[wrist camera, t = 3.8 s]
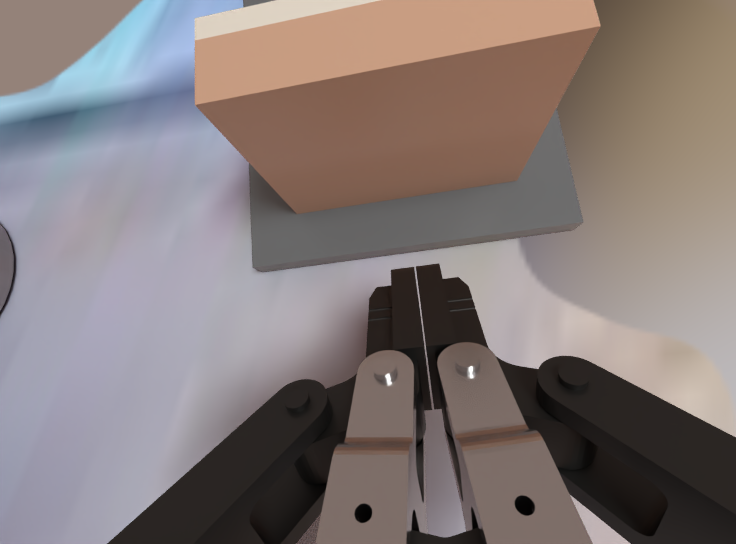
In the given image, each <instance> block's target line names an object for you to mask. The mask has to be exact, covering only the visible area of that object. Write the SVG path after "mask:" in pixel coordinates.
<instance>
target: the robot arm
mask: <svg viewBox="0 0 736 544" xmlns="http://www.w3.org/2000/svg"><path fill="white" fill-rule="evenodd" d="M416 271H417V279H418V286H419V294H420V302H421V310H422V318H423V326H424V334H425V342H426V350H427V357H428V365H429V372H430V380H431V388H432V395H433V403H434V409H442V413H443V420H444V428H445V436H446V441H447V445H448V450H449V454H450V458H451V463H452V467H453V471H454V476H455V480H456V484H457V489H458V493H459V497H460V502H461V506H462V511H463V516H464V521H465V528H466V532H463V533H461V534H458V535H455V536H452V537H448V538H443V537H438V536H434V535H430V534H428V528H427V516H426V461H425V430H426V423H425V413H424V410H432V407H431V399H430V390H429V382H428V374H427V366H426V357H425V349H424V341H423V332H422V324H421V316H420V308H419V301H418V293H417V286H416V278H415V271H414V267H409V268H401V269H394V270H391V286H384V287H377V288H376V289H375V291H374V292H373V294H372V295H371V297H370V298H369V315H368V332H367V349H366V359H364V360H363V361H362V363H361V364H360V366H359V368H358V371H357V374H356V375H355V376H354V377H352V378H351V379H349V380H347V381H345V382H343V383H341V384H338V385H335V386H333V387H330V388H327V389H325V387H324V386H323V385H322V384H321V383H319V382H317V381H315V380H309V379H304V380H298V381H295V382H292V383H290V384H288V385H286V386H285V387H283V388H282V389H281V390H279V391H278V392H277V393H276V394H275V395H274V396H273V397H272V398H270V399H269V400H268V401H267V402H266V403H265V404H264V405H263V406H261V407H260V408H259V409H258V410H257V411H256V412H255V413H254V414H252V415H251V416H250V417H249V418H248V419H247V420H246V421H245V422H243V423H242V424H241V425H240V426H239V427H238V428H237V429H236V430H234V431H233V432H232V433H231V434H230V435H229V436H228V437H227V438H226V439H224V440H223V441H222V442H221V443H220V444H219V445H218V446H217V447H215V448H214V449H213V450H212V451H211V452H210V453H209V454H208V455H206V456H205V457H204V458H203V459H202V460H201V461H200V462H199V463H197V464H196V465H195V466H194V467H193V468H192V469H191V470H190V471H188V472H187V473H186V474H185V475H184V476H183V477H182V478H181V479H179V480H178V481H177V482H176V483H175V484H174V485H173V486H172V487H170V488H169V489H168V490H167V491H166V492H165V493H164V494H163V495H161V496H160V497H159V498H158V499H157V500H156V501H155V502H154V503H152V504H151V505H150V506H149V507H148V508H147V509H146V510H145V511H143V512H142V513H141V514H140V515H139V516H138V517H137V518H136V519H134V520H133V521H132V522H131V523H130V524H129V525H128V526H127V527H125V528H124V529H123V530H122V531H121V532H120V533H119V534H118V535H116V536H115V537H114V538H113V539H112V540H111V541H110V542H109V543H107V544H296V543H297V542H298V540H299V539H300V538H301V537H302V536H303V534H304V533H305V532H306V531H307V529H308V528H309V527H310V526H311V524H312V523H313V522H314V521H315V519H316V518H317V517H318V516H319V515H320V513H321V517H320V522H319V527H318V532H317V537H316V542H315V544H593V543H592V541H591V539H590V537H589V535H588V533H587V531H586V528H585V526H584V524H583V522H582V520H581V518H580V516H579V514H578V512H577V509H576V507H575V505H574V503H573V501H572V499H571V497H570V495H571V496H573V497H574V498H575V499H576V500H577V501H579V502H580V503H581V504H582V505H584V506H585V507H586V508H587V509H589V510H590V511H591V512H592V513H594V514H595V515H596V516H597V517H599V518H600V519H601V520H602V521H604V522H605V523H606V524H607V525H608V526H610V527H611V528H612V529H613V530H615V531H616V532H617V533H618V534H620V535H621V536H622V537H623V538H625V539H626V540H627V541H628V542H630V543H631V544H736V437H734V436H732V435H730V434H728V433H726V432H724V431H722V430H720V429H718V428H716V427H714V426H712V425H711V424H709V423H707V422H705V421H703V420H701V419H699V418H697V417H695V416H693V415H691V414H689V413H687V412H686V411H684V410H682V409H680V408H678V407H676V406H674V405H672V404H670V403H668V402H666V401H664V400H662V399H661V398H659V397H657V396H655V395H653V394H651V393H649V392H647V391H645V390H643V389H641V388H639V387H637V386H636V385H634V384H632V383H630V382H628V381H626V380H624V379H622V378H620V377H618V376H616V375H614V374H612V373H610V372H609V371H607V370H605V369H603V368H601V367H599V366H597V365H595V364H593V363H591V362H589V361H587V360H584V359H581V358H578V357H573V356H558V357H553V358H550V359H548V360H546V361H545V362H543V363H542V364H541V365H540V367H539V369H534V368H527V367H521V366H516V365H512V364H509V363H507V362H504V361H502V360H501V359H499V358H498V357H496V356H495V355H494V353H493V352H492V351H491V350H490V349H489V348H488V346H487V343H486V340H485V337H484V334H483V330H482V327H481V324H480V321H479V318H478V315H477V312H476V309H475V305H474V302H473V300H472V296H471V293H470V290H469V286H468V285H467V284H465V283H464V282H463V281H462V280H461V279H460V278H459V277H456V278H448V279H442V274H441V270H440V265H439V264H432V265H424V266H416ZM13 272H14V256H13V251H12V246H11V242H10V240H9V237H8V235H7V233H6V231H5V230H4V228H3V227H2V226H1V225H0V310H1V309H2V307H3V305H4V303H5V301H6V298H7V295H8V293H9V290H10V287H11V282H12V277H13ZM569 494H570V495H569Z"/></svg>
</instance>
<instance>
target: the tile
mask: <svg viewBox="0 0 736 544" xmlns="http://www.w3.org/2000/svg"><path fill="white" fill-rule="evenodd" d="M599 28H600V22H599V19H598V15H597V12H596V8H595V4H594V1H593V0H275V1H270V2H266V3H261V4H257V5H252V6H248V7H244V8H239V9H235V10H230V11H226V12H221V13H217V14H212V15H208V16H203V17H199V18H195V105H196V106H197V108H198V109H199V110H200V111H201V112H202V113H203V114H204V115H205V116H206V117H207V118H208V119H209V120H210V121H211V123H212V124H213V125H214V126H215V127H216V128H217V129H218V130H219V131H220V132H221V133H222V134H223V135H224V136H225V138H226V139H227V140H228V141H229V142H230V143H231V144H232V145H233V146H234V147H235V148H236V149H237V150H238V151H239V153H240V154H241V155H242V156H243V157H244V158H245V159H246V160H247V161H248V162H249V163H250V164H251V165H252V166H253V168H254V169H255V170H256V171H257V172H258V173H259V174H260V175H261V176H262V177H263V178H264V179H265V180H266V181H267V183H268V184H269V185H270V186H271V187H272V188H273V189H274V190H275V191H276V192H277V193H278V194H279V195H280V196H281V198H282V199H283V200H284V201H285V202H286V203H287V204H288V205H289V206H290V207H291V208H292V209H293V210H294V211H295V212H296V214H301V213H308V212H314V211H321V210H327V209H334V208H340V207H347V206H354V205H360V204H367V203H373V202H380V201H387V200H393V199H400V198H406V197H413V196H419V195H426V194H433V193H439V192H446V191H452V190H459V189H465V188H472V187H479V186H485V185H492V184H498V183H505V182H512V181H517V180H518V178H519V176H520V174H521V172H522V171H523V169H524V167H525V165H526V163H527V161H528V159H529V158H530V156H531V154H532V152H533V150H534V148H535V147H536V145H537V143H538V141H539V139H540V137H541V135H542V134H543V132H544V130H545V128H546V126H547V124H548V122H549V121H550V119H551V117H552V115H553V113H554V111H555V109H556V108H557V106H558V104H559V102H560V100H561V98H562V96H563V95H564V93H565V91H566V89H567V87H568V85H569V84H570V82H571V80H572V78H573V76H574V74H575V72H576V70H577V69H578V67H579V65H580V63H581V61H582V59H583V58H584V56H585V54H586V52H587V50H588V48H589V46H590V44H591V43H592V41H593V39H594V37H595V35H596V34H597V32H598V30H599Z"/></svg>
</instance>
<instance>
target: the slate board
mask: <svg viewBox="0 0 736 544" xmlns="http://www.w3.org/2000/svg"><path fill="white" fill-rule="evenodd" d="M270 1H275V0H243V6H244V7H248V6H252V5H257V4H261V3H266V2H270ZM249 176H250V205H251V233H252V262H253V268H255V269H257V270H259V271H261V272H267V271H274V270H282V269H289V268H296V267H304V266H311V265H319V264H326V263H334V262H341V261H349V260H356V259H363V258H371V257H378V256H386V255H393V254H401V253H408V252H415V251H423V250H430V249H438V248H445V247H453V246H460V245H468V244H475V243H482V242H490V241H497V240H505V239H512V238H520V237H527V236H534V235H541V234H549V233H557V232H564V231H571V230H574V229H576V228H577V227H578V226H579V225H580V224H582V223H583V219H582V215H581V210H580V206H579V202H578V197H577V193H576V189H575V185H574V180H573V176H572V172H571V168H570V163H569V159H568V156H567V151H566V146H565V142H564V138H563V134H562V130H561V125H560V121H559V117H558V112H557V108H556V109H555V111H554V113H553V115H552V117H551V119H550V121H549V122H548V124H547V126H546V128H545V130H544V132H543V134H542V135H541V137H540V139H539V141H538V143H537V145H536V147H535V148H534V150H533V152H532V154H531V156H530V158H529V159H528V161H527V163H526V165H525V167H524V169H523V171H522V172H521V174H520V176H519V178H518V180H517V181H512V182H505V183H498V184H492V185H485V186H479V187H472V188H465V189H459V190H452V191H446V192H439V193H433V194H426V195H419V196H413V197H406V198H400V199H393V200H387V201H380V202H373V203H367V204H360V205H354V206H347V207H340V208H334V209H327V210H321V211H314V212H308V213H301V214H296V212H295V211H294V210H293V209H292V208H291V207H290V206H289V205H288V204H287V203H286V202H285V201H284V200H283V199H282V198H281V196H280V195H279V194H278V193H277V192H276V191H275V190H274V189H273V188H272V187H271V186H270V185H269V184H268V183H267V181H266V180H265V179H264V178H263V177H262V176H261V175H260V174H259V173H258V172H257V171H256V170H255V169H254V168H253V166H252V165H251V164H250V163H249Z"/></svg>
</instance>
